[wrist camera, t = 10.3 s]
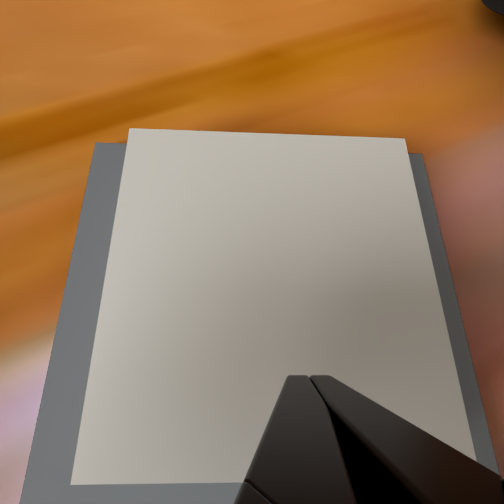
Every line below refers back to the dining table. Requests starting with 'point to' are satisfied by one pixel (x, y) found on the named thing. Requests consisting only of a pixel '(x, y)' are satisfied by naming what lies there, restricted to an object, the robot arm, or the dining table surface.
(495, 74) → the dining table surface
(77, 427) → the slate board
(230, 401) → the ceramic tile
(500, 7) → the tray
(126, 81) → the dining table surface
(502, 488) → the robot arm
